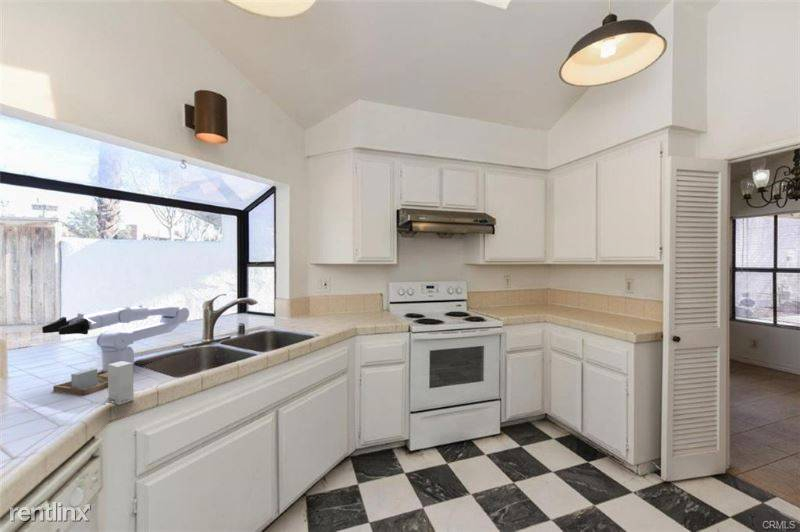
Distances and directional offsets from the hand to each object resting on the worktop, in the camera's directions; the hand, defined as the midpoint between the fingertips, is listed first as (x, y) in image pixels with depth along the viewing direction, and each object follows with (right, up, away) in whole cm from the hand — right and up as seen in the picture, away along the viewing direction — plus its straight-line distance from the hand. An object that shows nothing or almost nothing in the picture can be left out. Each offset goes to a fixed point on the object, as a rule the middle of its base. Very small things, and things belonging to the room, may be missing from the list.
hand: (51, 330), depth 114 cm
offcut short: (+13, -19, +7) cm, 24 cm away
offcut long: (+13, -21, +7) cm, 25 cm away
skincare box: (+29, -21, -7) cm, 37 cm away
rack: (+12, -20, +3) cm, 24 cm away
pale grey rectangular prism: (+11, -21, 0) cm, 24 cm away
